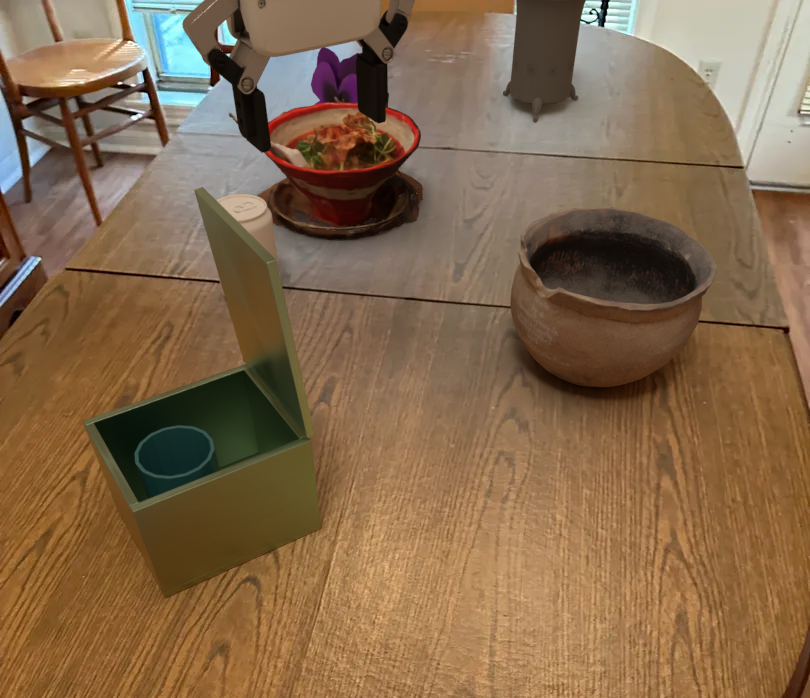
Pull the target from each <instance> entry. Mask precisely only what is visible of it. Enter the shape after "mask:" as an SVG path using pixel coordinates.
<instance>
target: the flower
mask: <svg viewBox="0 0 810 698" xmlns="http://www.w3.org/2000/svg"><path fill="white" fill-rule="evenodd" d="M357 54H359V52H356V53H355V54H353V55H351V56H350V57H346V58H343V59H342V60H341V61H340V58H339V56H338V54H336V53H335V51H333V50H331V49H330V48H329V47H325V48H320V49H319V51H318V53H317V57H316V66H315V68H314V71H313V74H312V77H311V80H310V81H311V82H310V87H311V90H312V93H313V94H314V95H315V97H317V99H318V101H317V102H315V103H314V104H321V103H326V102H330V103H333V102H334V103H337V102H345V103H358V101H357V78H356V58H357ZM389 99H390V94H389V92H388V102H387V104H386V107H389Z"/></svg>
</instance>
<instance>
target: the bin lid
mask: <svg viewBox="0 0 810 698" xmlns="http://www.w3.org/2000/svg"><path fill="white" fill-rule="evenodd" d="M193 190H194V194H195V198H196V203H197V205H198V209H199V212H200V215H201V219H202V223H203V226H204V229H205V233H206V237H207V239H208V243H209V247H210V249H211V250H210V251H211V255H212V258H213V261H214V264H215V267H216V270H217V275H218V274H219V276H218V279H219V278H220V281H221V285H222V288H223V292H224V295H225V297H224V298H225V302H226V305H227V309H228V312H229V316H230V319H231V322H232V326H233V329H234V333H235V337H236V340H237V343H238V347H239V350H240V354H241V357H242V360H243V362H244V364H247V365H248V367H249V368H250V369H251V370H252V371H253V373H254V374H255V375H256V376H257V378H258V379H259V380H260V381H261V382H262V384H263V385H264V386H265V387H266V388H267V390H268V391H269V392H270V393H271V395H272V396H273V397H274V398H275V399H276V401H277V402H278V403H279V404H280V405H281V407H282V408H283V409H284V410H285V411H286V413H287V414H288V415H289V416H290V418H291V419H292V420H293V421H294V422H295V424H296V425H297V426H298V427H299V428H300V430H301V431H302V432H303V433H304V435H305V436H306V437H307V438H308V437H309V438H310V437H312V436H314V435H316V433H315V428H314V423H313V419H312V415H311V411H310V405H309V401H308V397H307V393H306V388H305V383H304V379H303V374H302V370H301V365H300V361H299V357H298V352H297V347H296V342H295V339H294V334H293V329H292V324H291V320H290V319H291V318H290V315H289V311H288V306H287V302H286V297H285V292H284V289H283V284H282V279H281V275H280V269H279V270H278V266H279V264H278V265H277V261H276V259H275V258H274V257H273V256H272V255H271V254H270V253H269V252H268V251H267V250H266V249H265V248H264V247H263V246H262V245H261V244H260V243H259V242H258V241H257V240H256V239H255V238H254V237H253V236H252V235H251V234H250V233H249V232H248V231H247V230H246V229H245V228H244V227H243V226H242V225H241V224H240V223H239V222H238V221H237V220H236V219H235V218H234V217H233V216H232V215H231V214H230V213H229V212H228V211H227V210H226V209H225V208H223V207H222V206H221V205H220V204H219V203H218V202H217V201H216V200H217V199H216V198H214V196H213V195H211V194H210V193H209V191H208V190H206V189H205V187H204V186H202V187H199V188H196V189H193ZM220 281H219V282H220ZM224 295H223V296H224Z"/></svg>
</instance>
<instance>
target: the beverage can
mask: <svg viewBox="0 0 810 698" xmlns="http://www.w3.org/2000/svg"><path fill="white" fill-rule="evenodd" d="M215 200H216V201H217V202H218V203H219V204H220V205H221V206H222V207H223V208H225V209H226V210H227V211H228V212H229V213H230V214H231V215H232V216H233V217H234V218H235V219H236V220H237V221H238V222H239V223H240V224H241V225H242V226H243V227H244V228H245V229H246V230H247V231H248V232H249V233H250V234H251V235H252V236H253V237H254V238H255V239H256V240H257V241H258V242H259V243H260V244H261V245H262V246H263V247H264V248H265V249H266V250H267V251H268V252H269V253H270V254H271V255H272V256H273V257H274V258H275V259H276V261H277V265H278V270H279V271H280V268H279V259H278V251H277V243H276V236H275V235H276V234H275V227H274V223H273V219H272V214H271V211H270V210H269V208H268V207H267V204H266V202H265V201H264V200H263V199H262V198H260V197H258V196H257V195H254V194H248V193H236V194H230V195H226V196H222V197H220V198H218V199H215ZM217 275H218V280H219V285H220V291H221V294H222V296H223V297H224V298H225V295H224V292H223V288H222V285H221V281H220V278H219V274H218V273H217Z"/></svg>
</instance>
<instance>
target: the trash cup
mask: <svg viewBox="0 0 810 698" xmlns="http://www.w3.org/2000/svg"><path fill="white" fill-rule="evenodd" d="M134 454H135V464H136V467H137V470H138V473H139V476H140V478H141V481H142V484H143V487H144V490H145V493H146V496H147V498H148V499H149V498H152V497H154V496H157V495H159V494H162V493H165V492H167V491H170V490H172V489H175V488H177V487H180V486H182V485H185V484H187V483H190V482H192V481H195V480H197V479H200V478H202V477H205V476H207V475H210V474H212V473H215V472H217V471H220V467H219V463H218V459H217V454H216V450H215V446H214V442H213V439H212V438H211V437H210V436H209V435H208V434H207V433H206V431H203V430H201V429H199V428H196V427H193V426H182V425H177V426H172V427H166V428H162V429H160V430H158V431H156V432H153V433H151V434H149V435H148V436H147V437H146V438H145V439H144V440H142V441H141V442H140V443H139V445H138V447H137V449H136V451H135V453H134Z"/></svg>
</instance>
